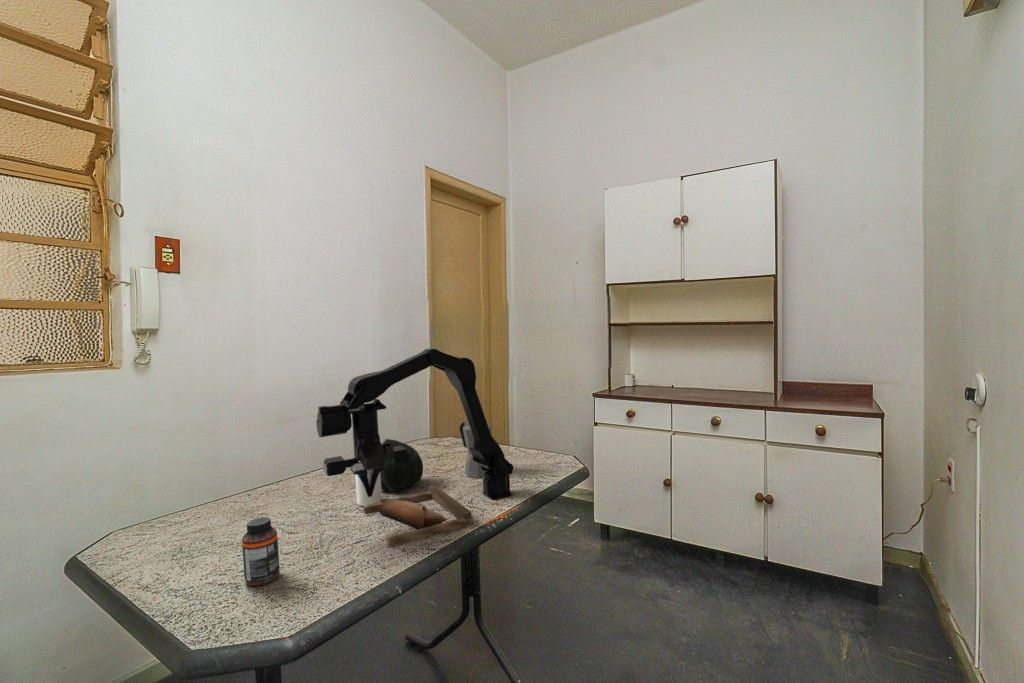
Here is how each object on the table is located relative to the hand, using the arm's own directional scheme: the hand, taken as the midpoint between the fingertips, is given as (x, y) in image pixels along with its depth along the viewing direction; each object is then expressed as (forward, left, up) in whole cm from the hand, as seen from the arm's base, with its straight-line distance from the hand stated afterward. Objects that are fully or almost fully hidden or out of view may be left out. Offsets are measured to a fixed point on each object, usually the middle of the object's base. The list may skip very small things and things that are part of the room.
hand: (369, 496), depth 111 cm
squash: (-14, -26, -8) cm, 31 cm away
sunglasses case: (-10, 0, -8) cm, 13 cm away
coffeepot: (-39, -23, -8) cm, 46 cm away
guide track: (-11, 0, -8) cm, 13 cm away
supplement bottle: (+23, +11, -8) cm, 27 cm away
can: (-4, -18, -8) cm, 20 cm away
